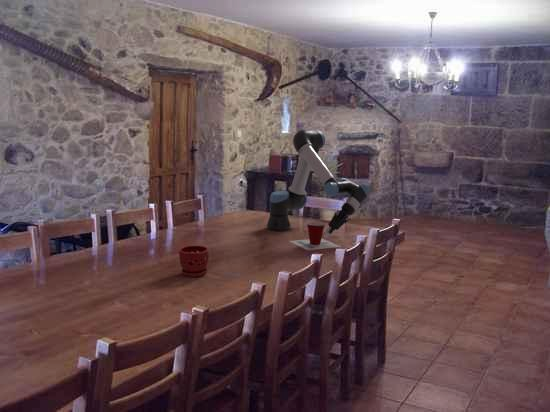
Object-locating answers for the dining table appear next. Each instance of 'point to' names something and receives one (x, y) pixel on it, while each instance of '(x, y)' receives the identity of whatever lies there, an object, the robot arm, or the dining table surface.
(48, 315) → the dining table surface
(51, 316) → the dining table surface
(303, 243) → the placemat
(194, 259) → the plant pot
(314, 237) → the plastic cup
